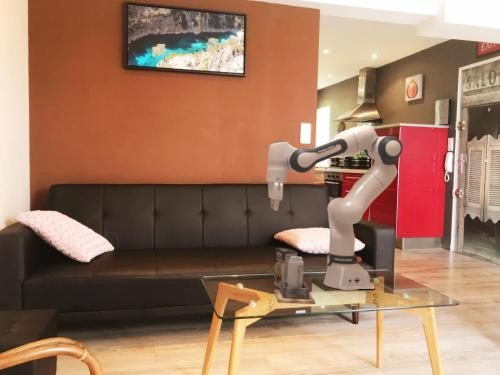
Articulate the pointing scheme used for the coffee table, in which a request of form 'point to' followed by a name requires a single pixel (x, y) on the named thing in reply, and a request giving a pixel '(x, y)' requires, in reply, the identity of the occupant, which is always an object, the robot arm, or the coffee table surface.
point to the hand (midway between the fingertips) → (274, 209)
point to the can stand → (294, 294)
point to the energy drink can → (295, 272)
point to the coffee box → (282, 264)
